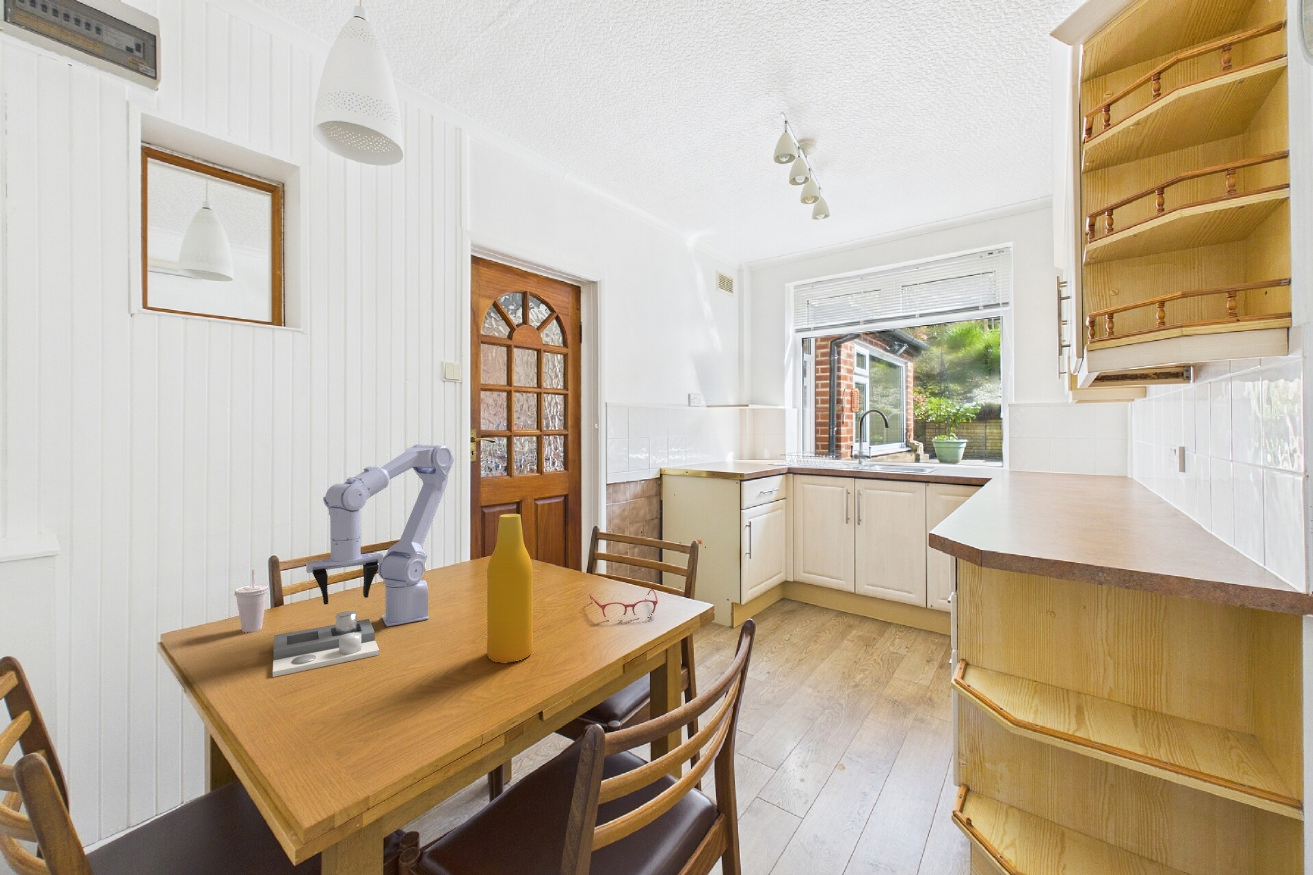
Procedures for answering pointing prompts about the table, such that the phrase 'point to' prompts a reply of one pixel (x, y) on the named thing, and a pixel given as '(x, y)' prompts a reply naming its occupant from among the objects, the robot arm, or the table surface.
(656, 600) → the red eyeglasses
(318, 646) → the grey square hole plate
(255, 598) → the smoothie
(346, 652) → the white peg base plate
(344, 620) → the pin
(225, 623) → the table surface
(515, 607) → the beer bottle
